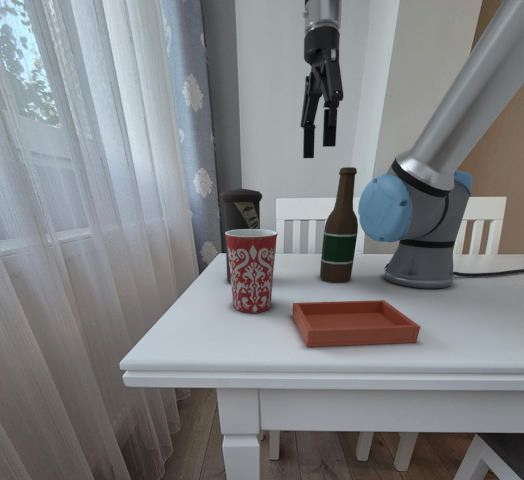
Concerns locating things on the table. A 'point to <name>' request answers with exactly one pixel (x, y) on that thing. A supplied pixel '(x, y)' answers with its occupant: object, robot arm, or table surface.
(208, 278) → the table surface
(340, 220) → the beer bottle
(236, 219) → the container
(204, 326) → the table surface
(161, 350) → the table surface
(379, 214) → the robot arm
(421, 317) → the table surface
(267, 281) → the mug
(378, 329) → the red tray
